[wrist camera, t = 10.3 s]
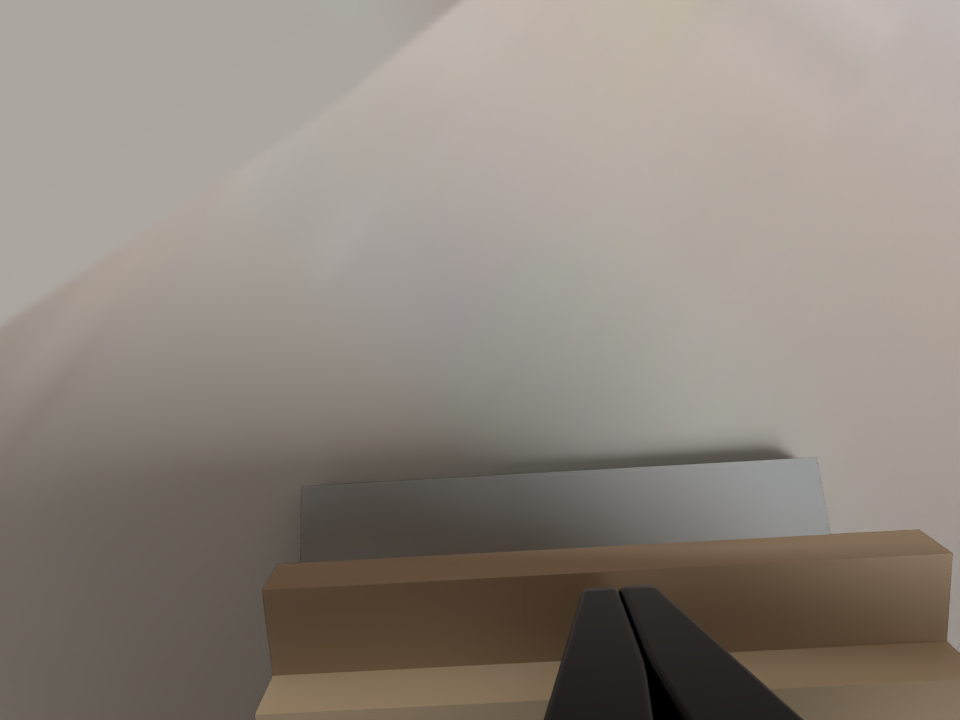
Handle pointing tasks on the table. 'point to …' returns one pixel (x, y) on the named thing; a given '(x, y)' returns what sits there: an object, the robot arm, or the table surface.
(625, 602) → the robot arm
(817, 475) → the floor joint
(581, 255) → the table surface
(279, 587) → the click plank
